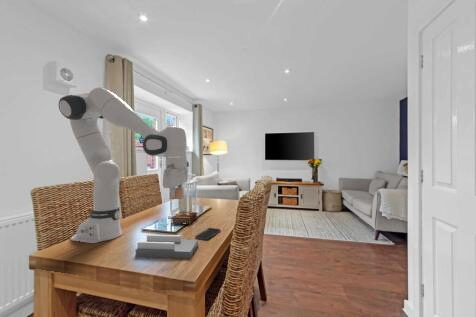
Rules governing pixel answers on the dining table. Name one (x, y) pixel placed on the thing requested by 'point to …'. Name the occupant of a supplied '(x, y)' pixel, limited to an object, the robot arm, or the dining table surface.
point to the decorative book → (184, 217)
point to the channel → (166, 246)
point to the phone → (207, 234)
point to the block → (178, 193)
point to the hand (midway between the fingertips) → (176, 195)
